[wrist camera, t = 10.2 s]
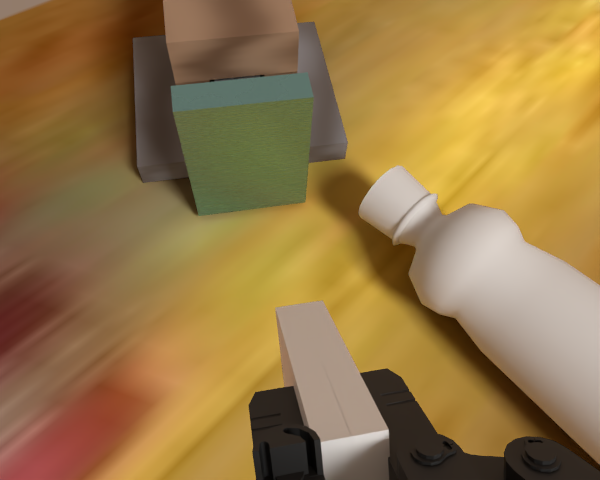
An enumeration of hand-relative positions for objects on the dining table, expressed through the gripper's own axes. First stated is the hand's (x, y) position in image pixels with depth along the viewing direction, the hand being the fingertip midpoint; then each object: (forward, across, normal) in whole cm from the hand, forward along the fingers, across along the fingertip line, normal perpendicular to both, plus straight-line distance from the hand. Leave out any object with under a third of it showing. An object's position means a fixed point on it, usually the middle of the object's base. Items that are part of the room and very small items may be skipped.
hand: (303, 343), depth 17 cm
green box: (+30, 0, +5) cm, 31 cm away
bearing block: (+32, 0, +6) cm, 33 cm away
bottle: (+14, +17, -12) cm, 25 cm away
